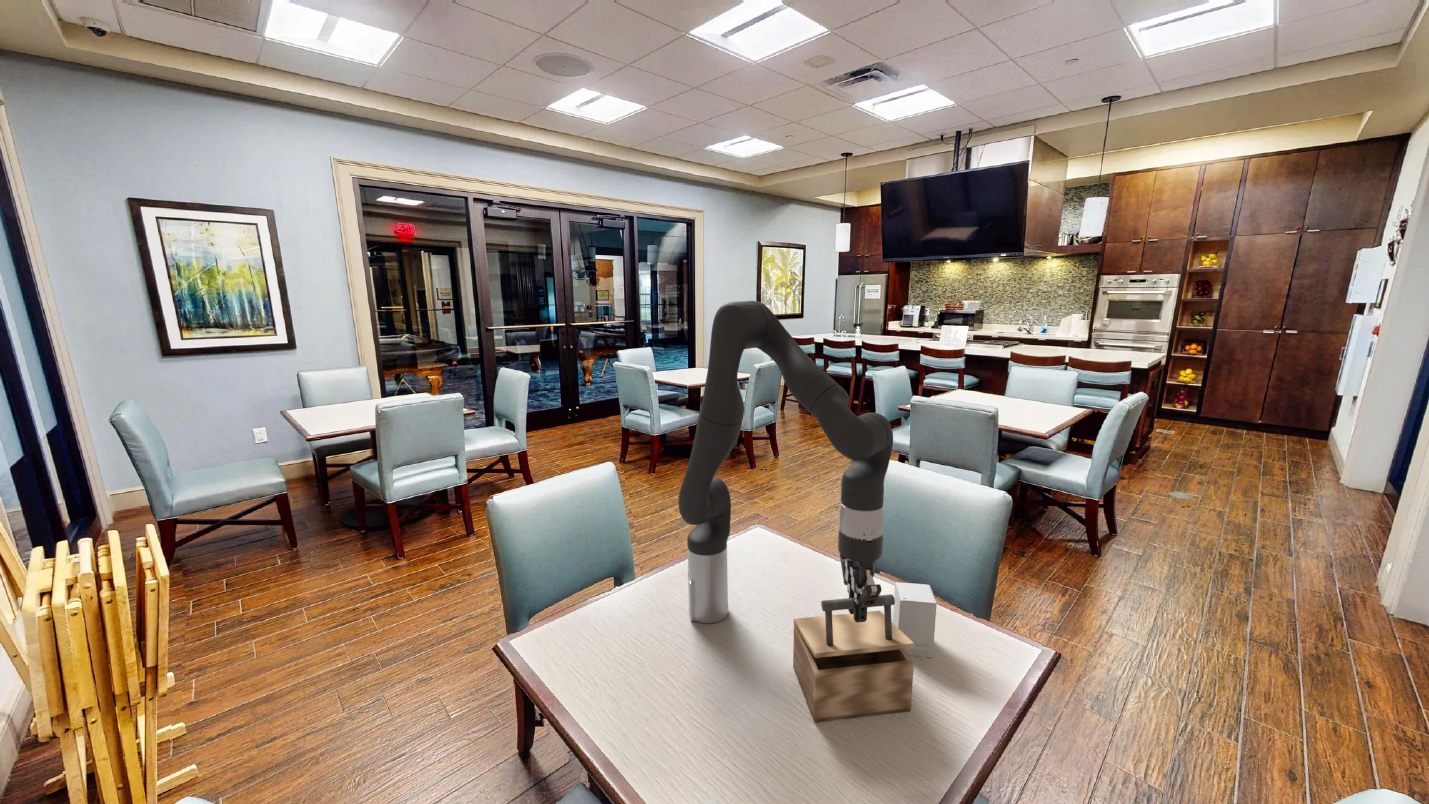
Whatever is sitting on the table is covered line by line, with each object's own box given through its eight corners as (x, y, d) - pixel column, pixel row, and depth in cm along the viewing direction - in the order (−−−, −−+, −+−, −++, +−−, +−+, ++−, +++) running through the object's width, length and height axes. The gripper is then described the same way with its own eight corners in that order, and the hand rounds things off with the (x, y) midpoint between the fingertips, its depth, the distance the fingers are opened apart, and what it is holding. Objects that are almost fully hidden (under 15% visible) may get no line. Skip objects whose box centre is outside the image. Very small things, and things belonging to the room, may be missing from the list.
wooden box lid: (815, 658, 89) (813, 608, 89) (793, 622, 103) (792, 579, 103) (914, 647, 91) (912, 598, 91) (879, 614, 105) (878, 572, 105)
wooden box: (814, 722, 92) (815, 673, 89) (793, 667, 105) (793, 623, 103) (910, 711, 94) (913, 663, 91) (877, 658, 107) (879, 615, 105)
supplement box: (933, 658, 107) (937, 603, 104) (896, 654, 108) (899, 600, 106) (926, 635, 114) (930, 584, 111) (891, 632, 115) (894, 580, 113)
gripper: (826, 513, 96) (824, 597, 99) (855, 547, 82) (851, 643, 86) (865, 510, 97) (862, 593, 100) (899, 544, 83) (894, 639, 87)
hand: (857, 616), depth 93 cm, fingers closed on wooden box lid, 2 cm apart
